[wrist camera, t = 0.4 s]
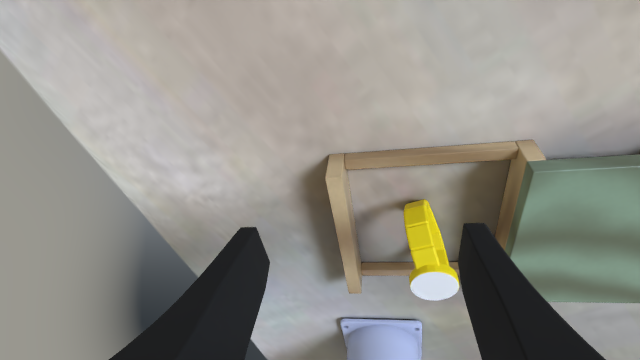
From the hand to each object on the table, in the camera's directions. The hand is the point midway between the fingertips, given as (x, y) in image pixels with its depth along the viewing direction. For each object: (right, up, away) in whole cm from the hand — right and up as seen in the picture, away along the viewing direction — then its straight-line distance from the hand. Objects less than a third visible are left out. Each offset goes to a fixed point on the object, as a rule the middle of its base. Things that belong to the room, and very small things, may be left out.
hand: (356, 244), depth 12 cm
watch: (+6, 0, +12) cm, 14 cm away
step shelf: (+10, 0, +11) cm, 15 cm away
